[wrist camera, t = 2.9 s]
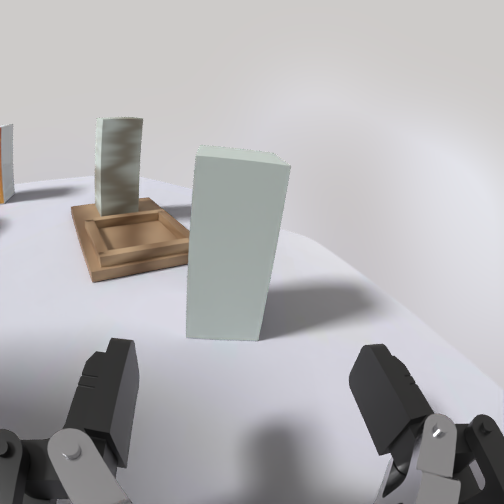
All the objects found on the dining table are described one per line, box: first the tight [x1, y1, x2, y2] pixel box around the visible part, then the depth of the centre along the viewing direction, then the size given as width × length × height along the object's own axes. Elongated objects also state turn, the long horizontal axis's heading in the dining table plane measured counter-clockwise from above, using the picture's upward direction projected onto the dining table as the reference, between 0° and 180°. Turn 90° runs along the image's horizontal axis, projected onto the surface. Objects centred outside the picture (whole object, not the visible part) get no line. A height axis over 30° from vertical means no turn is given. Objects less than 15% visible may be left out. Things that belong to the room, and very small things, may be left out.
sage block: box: [186, 145, 291, 341], centre depth 20 cm, size 5×5×12 cm
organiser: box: [71, 117, 190, 282], centre depth 31 cm, size 12×19×13 cm, turn 37°
